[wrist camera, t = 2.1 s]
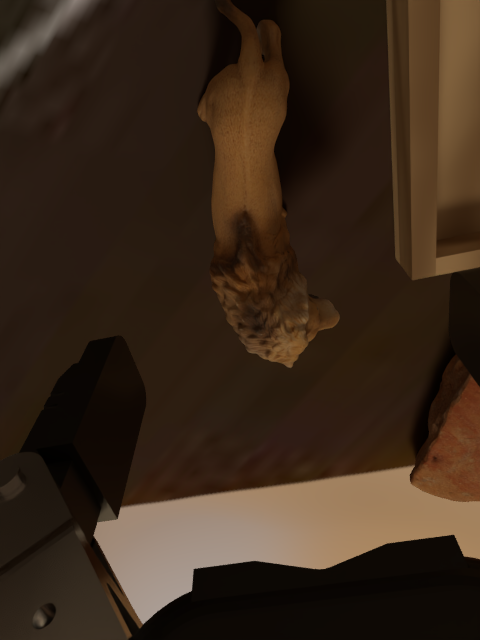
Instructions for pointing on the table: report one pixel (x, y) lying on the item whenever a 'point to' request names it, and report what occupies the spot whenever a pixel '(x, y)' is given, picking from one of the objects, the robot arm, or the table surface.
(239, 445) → the table surface
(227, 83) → the lion figurine
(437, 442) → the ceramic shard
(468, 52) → the rectangular tray
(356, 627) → the robot arm
